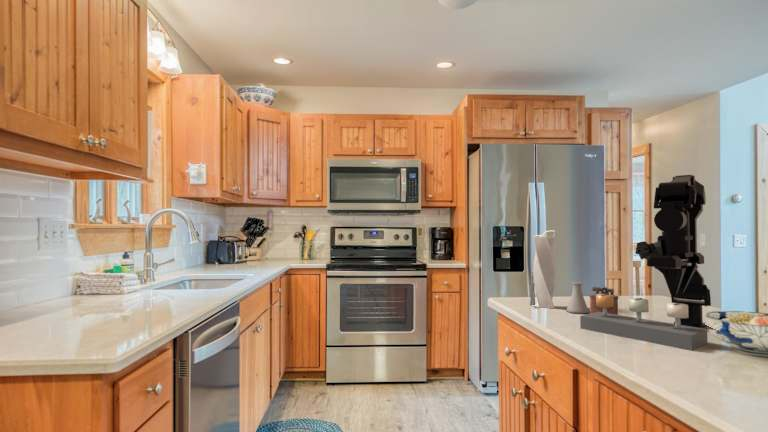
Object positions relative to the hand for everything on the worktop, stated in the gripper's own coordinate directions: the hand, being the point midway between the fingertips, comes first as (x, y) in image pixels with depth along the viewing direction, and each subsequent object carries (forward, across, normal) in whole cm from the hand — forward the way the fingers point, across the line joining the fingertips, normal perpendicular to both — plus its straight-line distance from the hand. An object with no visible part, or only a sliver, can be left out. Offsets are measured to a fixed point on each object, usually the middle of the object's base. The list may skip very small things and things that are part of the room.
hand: (676, 294), depth 105 cm
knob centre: (+9, 0, -9) cm, 13 cm away
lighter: (+12, -12, -24) cm, 30 cm away
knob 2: (+9, 0, 0) cm, 9 cm away
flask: (+12, -16, -36) cm, 41 cm away
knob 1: (+9, 0, -18) cm, 20 cm away
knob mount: (+12, 0, -9) cm, 15 cm away
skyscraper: (+13, -15, -48) cm, 51 cm away
